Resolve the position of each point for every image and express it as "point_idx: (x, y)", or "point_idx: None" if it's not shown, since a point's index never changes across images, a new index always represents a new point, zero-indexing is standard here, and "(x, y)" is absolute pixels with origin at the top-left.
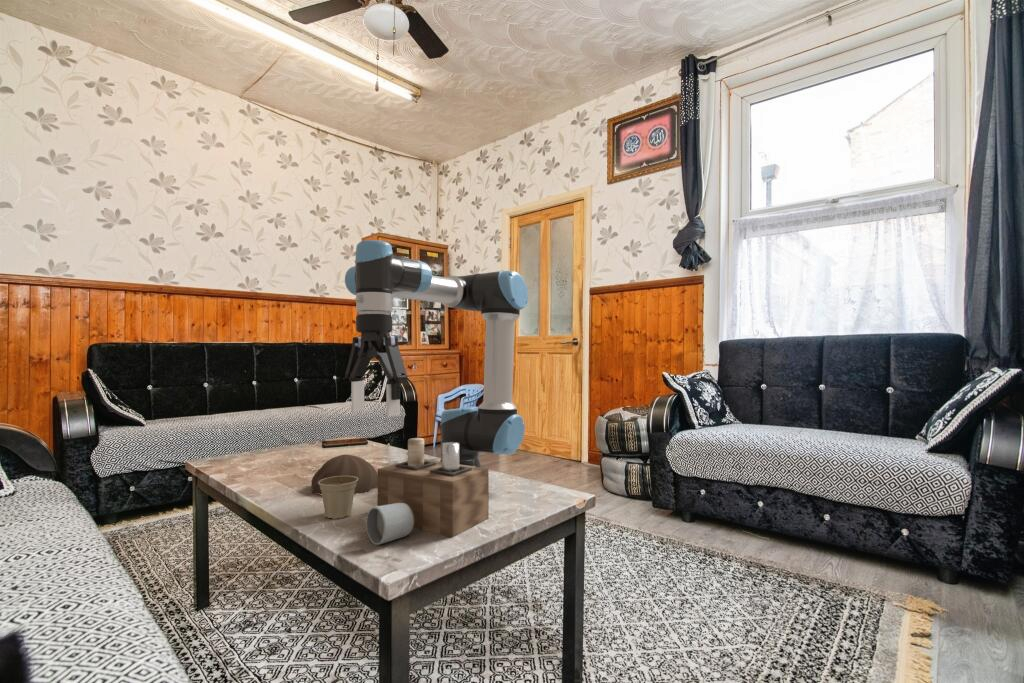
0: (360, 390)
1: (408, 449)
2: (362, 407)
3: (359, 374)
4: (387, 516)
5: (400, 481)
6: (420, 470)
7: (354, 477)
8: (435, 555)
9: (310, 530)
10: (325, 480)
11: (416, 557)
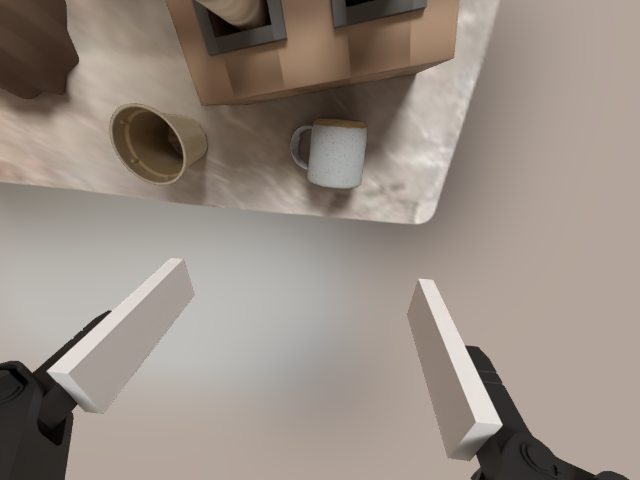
0: (127, 338)
1: (208, 7)
2: (178, 272)
3: (45, 451)
4: (356, 179)
5: (280, 92)
6: (292, 28)
7: (136, 106)
8: (435, 146)
9: (228, 198)
10: (123, 155)
11: (415, 167)
